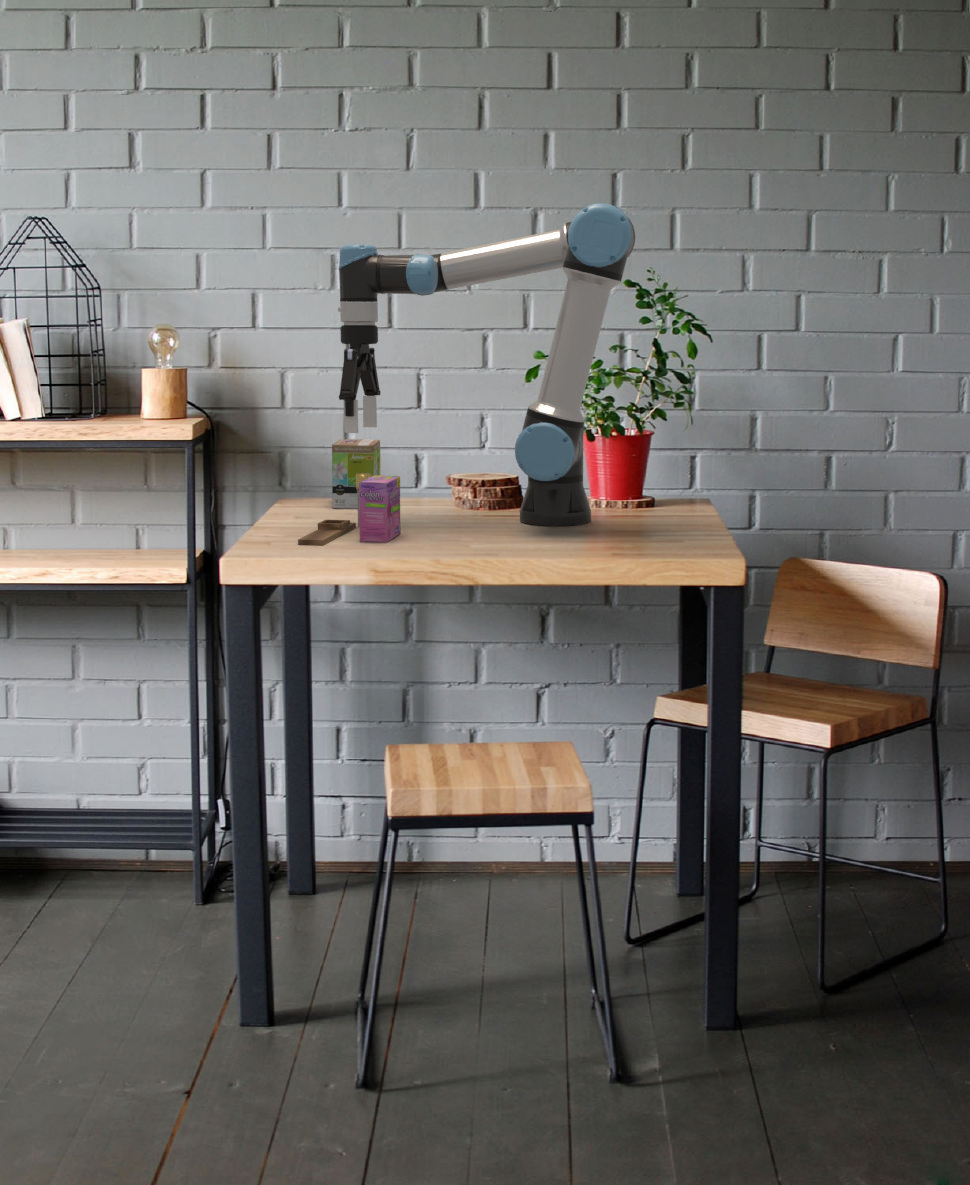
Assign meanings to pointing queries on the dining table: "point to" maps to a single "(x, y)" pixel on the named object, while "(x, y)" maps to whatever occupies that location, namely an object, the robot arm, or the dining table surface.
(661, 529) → the dining table surface
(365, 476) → the silver gold cylinder
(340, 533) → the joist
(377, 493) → the box
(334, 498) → the tea box
